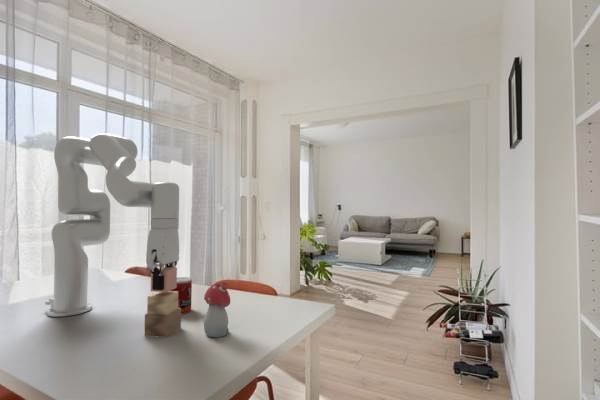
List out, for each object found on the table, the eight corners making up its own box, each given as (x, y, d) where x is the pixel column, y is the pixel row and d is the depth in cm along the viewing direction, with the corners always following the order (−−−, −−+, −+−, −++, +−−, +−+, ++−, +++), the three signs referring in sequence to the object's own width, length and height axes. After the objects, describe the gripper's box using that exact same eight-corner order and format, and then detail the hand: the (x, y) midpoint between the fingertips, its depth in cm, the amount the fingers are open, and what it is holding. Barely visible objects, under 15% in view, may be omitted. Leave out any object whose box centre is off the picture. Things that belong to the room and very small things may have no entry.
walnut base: (144, 336, 88) (144, 314, 89) (158, 326, 95) (159, 306, 96) (167, 337, 87) (168, 315, 88) (180, 328, 94) (181, 307, 95)
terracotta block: (150, 291, 90) (151, 270, 90) (160, 287, 95) (161, 267, 95) (167, 292, 89) (167, 270, 89) (176, 287, 94) (176, 267, 94)
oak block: (147, 314, 89) (147, 296, 89) (158, 307, 95) (159, 290, 95) (167, 314, 88) (167, 296, 88) (178, 308, 94) (178, 291, 94)
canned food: (183, 315, 105) (184, 282, 106) (162, 313, 107) (162, 281, 107) (195, 308, 113) (196, 277, 113) (175, 307, 115) (176, 276, 115)
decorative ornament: (233, 336, 88) (234, 282, 88) (210, 342, 84) (210, 285, 85) (222, 326, 96) (222, 276, 96) (200, 330, 92) (200, 279, 93)
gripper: (169, 223, 101) (168, 280, 101) (134, 225, 85) (132, 294, 84) (191, 223, 100) (190, 281, 100) (159, 226, 84) (158, 295, 83)
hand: (163, 286), depth 92 cm, fingers closed on terracotta block, 4 cm apart
